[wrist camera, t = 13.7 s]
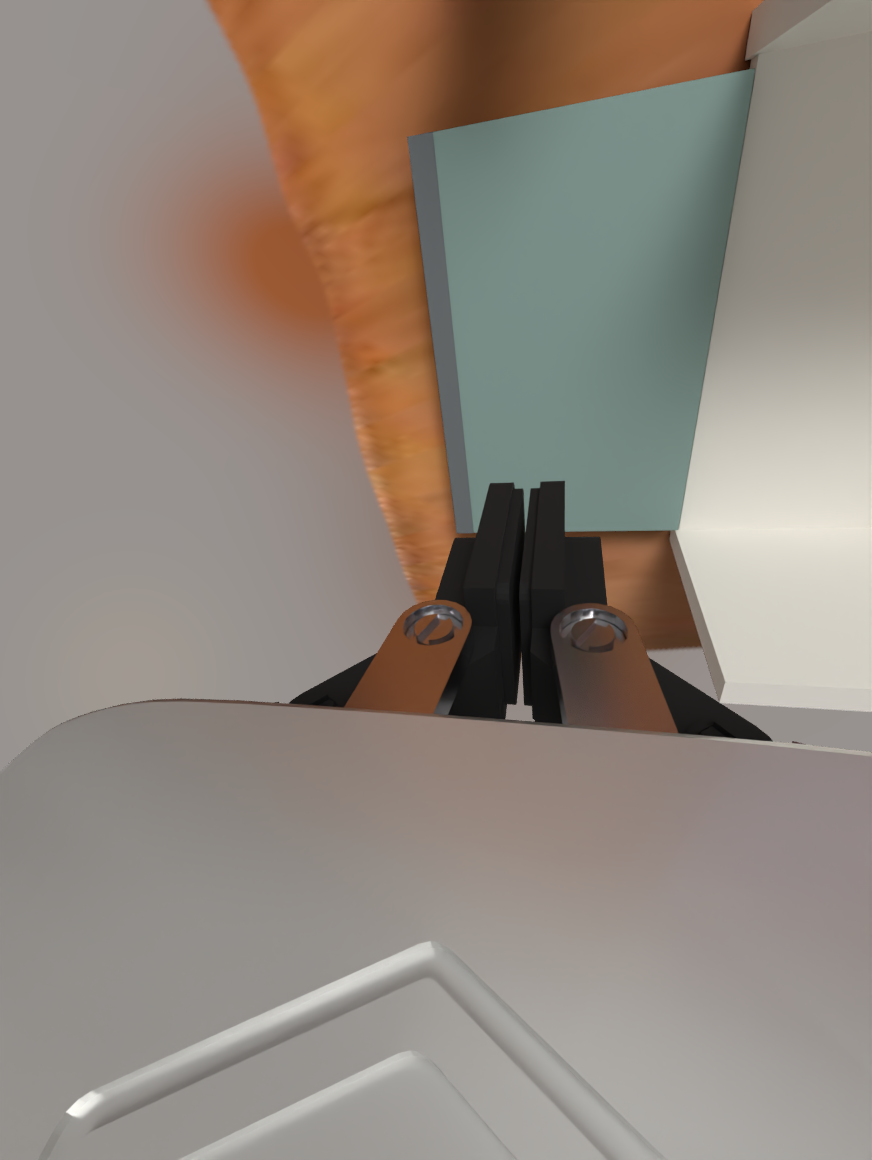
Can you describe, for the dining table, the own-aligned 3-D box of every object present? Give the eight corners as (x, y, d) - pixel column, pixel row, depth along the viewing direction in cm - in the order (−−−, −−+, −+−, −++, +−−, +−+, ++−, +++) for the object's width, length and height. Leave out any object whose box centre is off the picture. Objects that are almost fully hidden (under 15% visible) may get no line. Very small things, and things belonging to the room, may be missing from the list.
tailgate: (755, 67, 17) (407, 137, 20) (678, 530, 27) (456, 533, 30) (745, 74, 18) (414, 139, 21) (674, 518, 28) (460, 522, 31)
